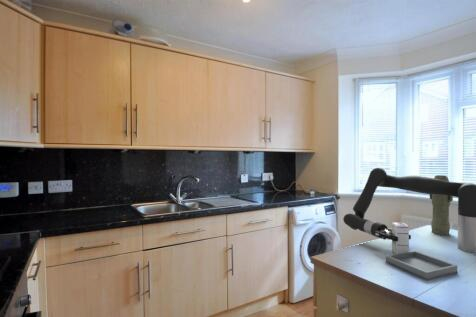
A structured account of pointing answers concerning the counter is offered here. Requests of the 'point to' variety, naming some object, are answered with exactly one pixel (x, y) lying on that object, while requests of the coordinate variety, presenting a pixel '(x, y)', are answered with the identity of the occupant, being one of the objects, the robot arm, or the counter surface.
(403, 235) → the syrup box
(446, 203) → the thermos
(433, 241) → the counter surface
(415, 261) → the slate tray
